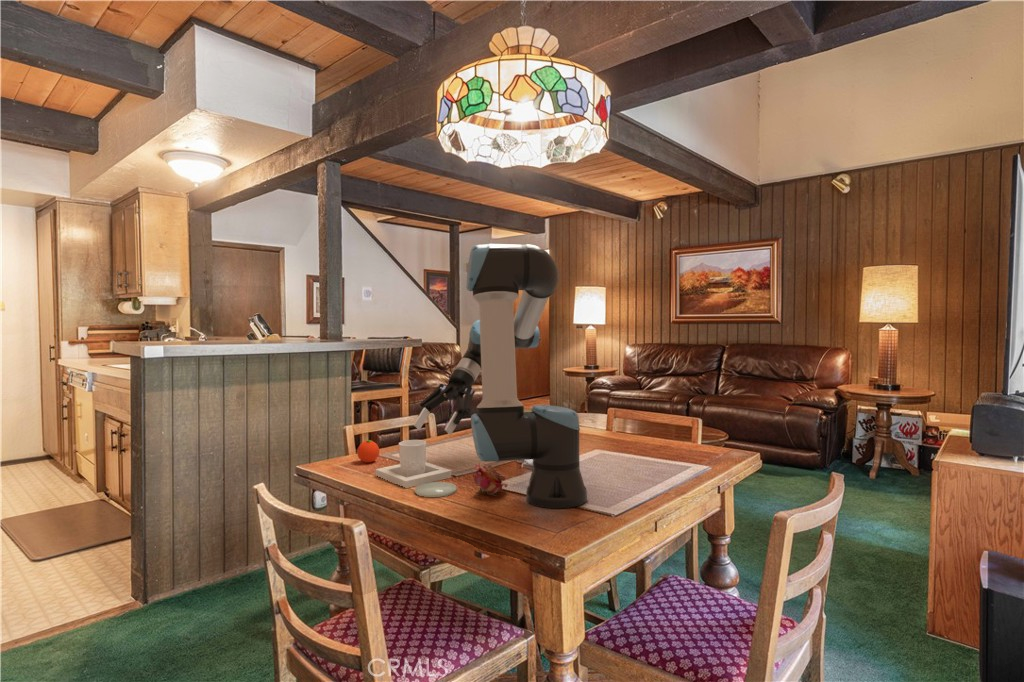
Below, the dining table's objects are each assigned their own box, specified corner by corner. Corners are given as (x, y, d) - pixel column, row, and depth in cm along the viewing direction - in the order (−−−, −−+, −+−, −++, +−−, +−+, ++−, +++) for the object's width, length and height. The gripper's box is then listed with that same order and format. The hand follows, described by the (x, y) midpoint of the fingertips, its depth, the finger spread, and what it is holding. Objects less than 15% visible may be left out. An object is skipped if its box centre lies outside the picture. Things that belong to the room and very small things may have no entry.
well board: (451, 477, 159) (451, 470, 159) (406, 488, 149) (406, 481, 149) (419, 466, 172) (419, 460, 172) (375, 476, 162) (375, 469, 162)
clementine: (362, 458, 182) (361, 437, 182) (383, 458, 182) (382, 437, 182) (354, 465, 174) (353, 442, 174) (376, 465, 174) (375, 442, 174)
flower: (475, 496, 136) (493, 468, 137) (458, 480, 144) (475, 454, 145) (500, 510, 142) (517, 483, 143) (482, 494, 149) (499, 468, 150)
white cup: (429, 473, 164) (429, 439, 164) (423, 480, 156) (422, 445, 156) (403, 472, 165) (403, 439, 164) (395, 480, 157) (395, 445, 156)
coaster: (464, 491, 146) (464, 488, 146) (429, 500, 139) (429, 497, 139) (441, 482, 154) (441, 479, 154) (406, 491, 147) (406, 488, 147)
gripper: (499, 385, 172) (468, 441, 161) (443, 380, 188) (410, 432, 177) (488, 369, 168) (455, 426, 157) (431, 366, 184) (397, 418, 172)
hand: (431, 429), depth 167 cm, fingers open, 13 cm apart
